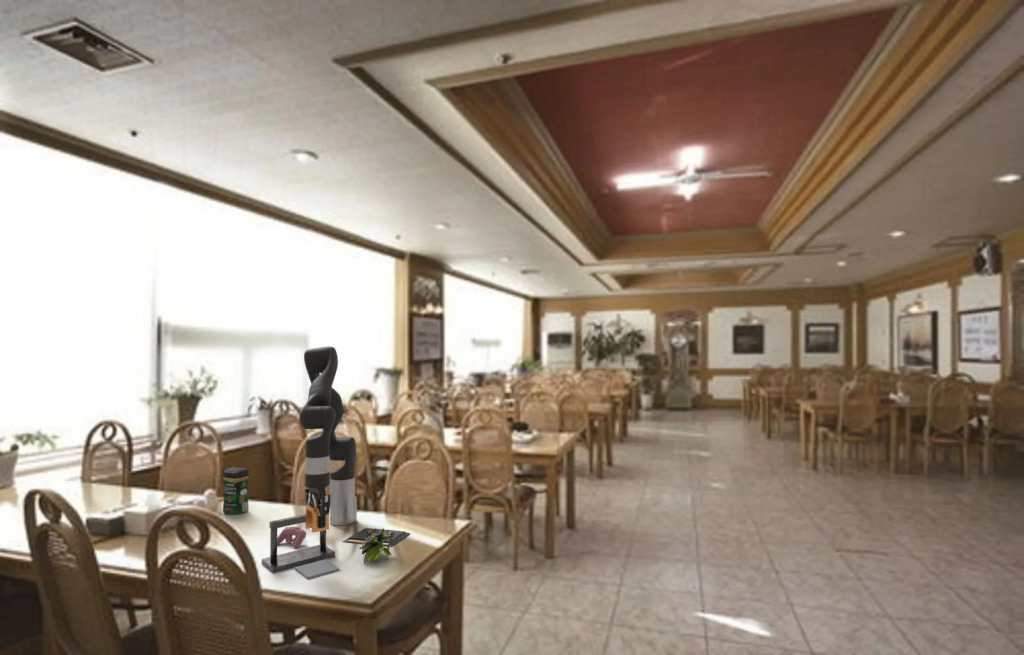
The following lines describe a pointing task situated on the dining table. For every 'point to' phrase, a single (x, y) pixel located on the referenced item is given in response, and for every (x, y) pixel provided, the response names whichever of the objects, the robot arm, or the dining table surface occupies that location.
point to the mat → (317, 569)
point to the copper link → (314, 518)
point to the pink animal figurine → (288, 537)
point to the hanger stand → (298, 556)
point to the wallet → (361, 535)
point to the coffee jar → (235, 490)
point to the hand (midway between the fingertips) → (317, 525)
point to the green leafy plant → (375, 544)
